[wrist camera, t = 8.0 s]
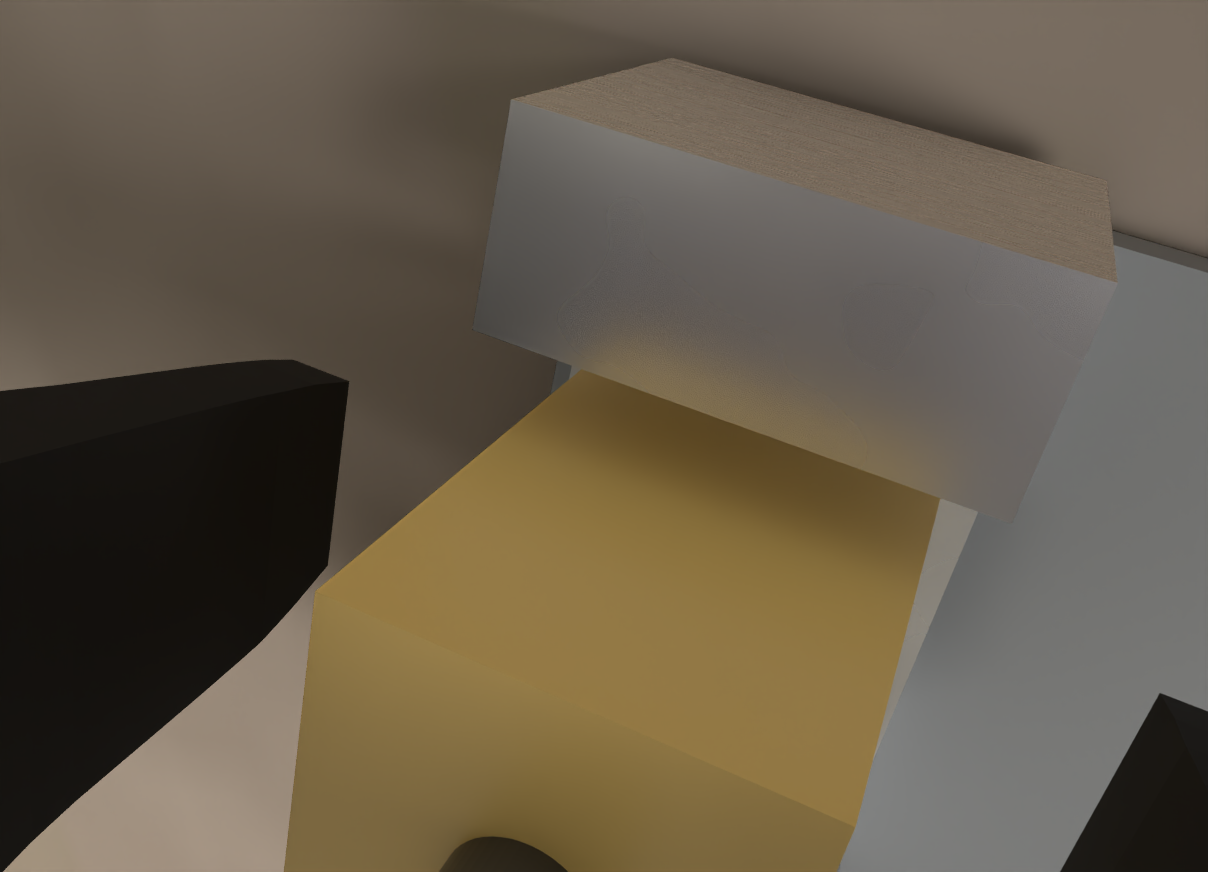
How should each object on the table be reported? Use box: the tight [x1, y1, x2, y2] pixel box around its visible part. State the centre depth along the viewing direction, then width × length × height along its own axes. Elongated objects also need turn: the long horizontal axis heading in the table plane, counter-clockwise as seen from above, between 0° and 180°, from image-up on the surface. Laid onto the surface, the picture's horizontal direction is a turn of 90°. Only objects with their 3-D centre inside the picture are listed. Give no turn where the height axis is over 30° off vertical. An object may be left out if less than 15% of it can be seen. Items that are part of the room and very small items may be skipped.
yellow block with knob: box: [284, 369, 941, 872], centre depth 9 cm, size 3×3×6 cm
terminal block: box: [472, 58, 1118, 872], centre depth 11 cm, size 4×8×4 cm, turn 167°
